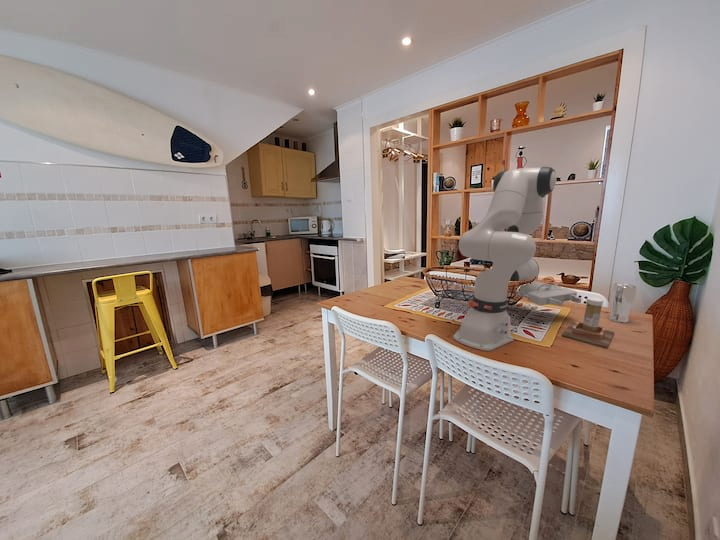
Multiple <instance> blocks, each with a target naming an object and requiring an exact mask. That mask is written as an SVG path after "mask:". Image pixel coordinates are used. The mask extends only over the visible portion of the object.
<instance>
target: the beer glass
mask: <svg viewBox="0 0 720 540" xmlns="http://www.w3.org/2000/svg"><path fill="white" fill-rule="evenodd" d="M636 292H637V286H636V285H633V284H629V283H617V282H616V283H614V284H613V289H612V292H611V299H610V301H611V311H610V314H609V316H608V319H609V320H611V321H613V322H617V323H621V322H623V323H622V324H625V323H626V322H627V323H629V313H630V311H631V309H632V306H633V304H634V301H635V298H636V294H637V293H636ZM627 323H626V324H627Z"/></svg>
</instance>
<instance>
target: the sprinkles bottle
mask: <svg viewBox="0 0 720 540" xmlns="http://www.w3.org/2000/svg"><path fill="white" fill-rule="evenodd" d="M603 304H604V300H603V299H602V298H599V297H594V296H593V297H592V296H591V297H589V296H588V297H587V298H586V307H585V312H584V317H583V321H582V323H583V328H582V330H585V331H589V332H593V333H597V328H598V326H599V324H600V323H599V322H600V319H601V312H602V307H603Z"/></svg>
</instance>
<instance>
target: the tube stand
mask: <svg viewBox="0 0 720 540" xmlns="http://www.w3.org/2000/svg"><path fill="white" fill-rule="evenodd" d="M582 328H583V322H581V321H576V322H573V321H572V322H570V324H569V325H568V326H567V327H566V328H565V329H564V331H563V332H562V334H561V337H562V338H565V339H569V340H573V341H577V342H581V343H585V344H588V345H593V346H596V347H600V348H603V349H608V348H609V346H610V344H611V341H612V339H613V337H614V334H615V331H611V330H610V329H609V330H608V329H606V328H605V327H603V326H599V325H598V328H597V333H593V332H589V331H585V330H582Z"/></svg>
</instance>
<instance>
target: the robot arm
mask: <svg viewBox="0 0 720 540" xmlns="http://www.w3.org/2000/svg"><path fill="white" fill-rule="evenodd" d="M492 181H493V182H492V189H493V190H492V191H493V196H492V199H491V202H490V205H489V207H488V210H487V211H486V214H485V216H484V217H483V218H482V219H481V221H480V222H479V223H477V225H475V226H474V227H473V228H471V229H469V230H468V231H465V232H464V233H463V234H462V235H461V236H460V238H459V241H458V251H459V252H460V254H461V255H462V256H463V257H466V258H468V259H469V258H470V259H472V260H477V261H486V262H492V266H491V268H490V269H486V270H483V271H481V272H480V273H478V274H477V275H476V277H475V282H474V295H473V296H472V299H471V300H469V302H468V306H469V307H470V308H469V309H468V312H466V314H465V316H464V318H463V320H462V321H461V325H460V328H458V329H457V331H456V332H455V333H454V334H453V336H452V338H453V340H455V341H456V342H458V343H460V344H462V345H465V346H467V347H470V348H472V349H473V348H474V349H477V350H480V351H487V352H491V351H492V350H496V349H497V348H500V347H502V346H504V345H506V344H509V343H510V342H514V336H513V335H511V316H510V315H509V313H508V312H507V309H508V307H509V306H508V305H509V303H508V302H509V301H508V292H509V290H508V285H509V281H522V280H526V279H527V280H529V279H533V277H534V276H535V277H536V279H535V280H534V281H533V282H531V284H526V285H524V286H522V287H520V291H519V293H520V295H521V296H522V297H521V296H520V297H521V298H526V299H527V300H528V302H530V303H532V304H535V305H538V306H546V305H554V306H555V305H556V306H557V307H562V306H564V302H571V301H573V303H578V304H579V303H581V302H582V298H581V297H578V293H577V291H576V290H575V289H571V288H568V287H565V286H561V285H560V286H559V284H558V283H551V282H549V283H547V282H541V281H538V279H539V273H540V267H539V263H538V261H536V260H535V259H534V256H535V254H536V252H537V244H536V241H535V239H534V238H533V237H532V235H530V234H532V233H533V232H535V231H537V229H538V228H540V227H541V225H542V222H543V218H544V198H545V197H546V196H548V195H549V194H550V193H552V191H553V190H554V188H555V186H556V184H557V174H556V170H555V169H554V168H553V167H552V166H551V167H550V166H541V167H520V168H519V167H518V168H514V169H513V168H512V169H510V170H507V169H505V170H501V171H500V172H498V173H497V174H496V175H495V176H494V178H493V180H492ZM505 229H507V230H506V231H504V230H505ZM535 277H534V278H535Z"/></svg>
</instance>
